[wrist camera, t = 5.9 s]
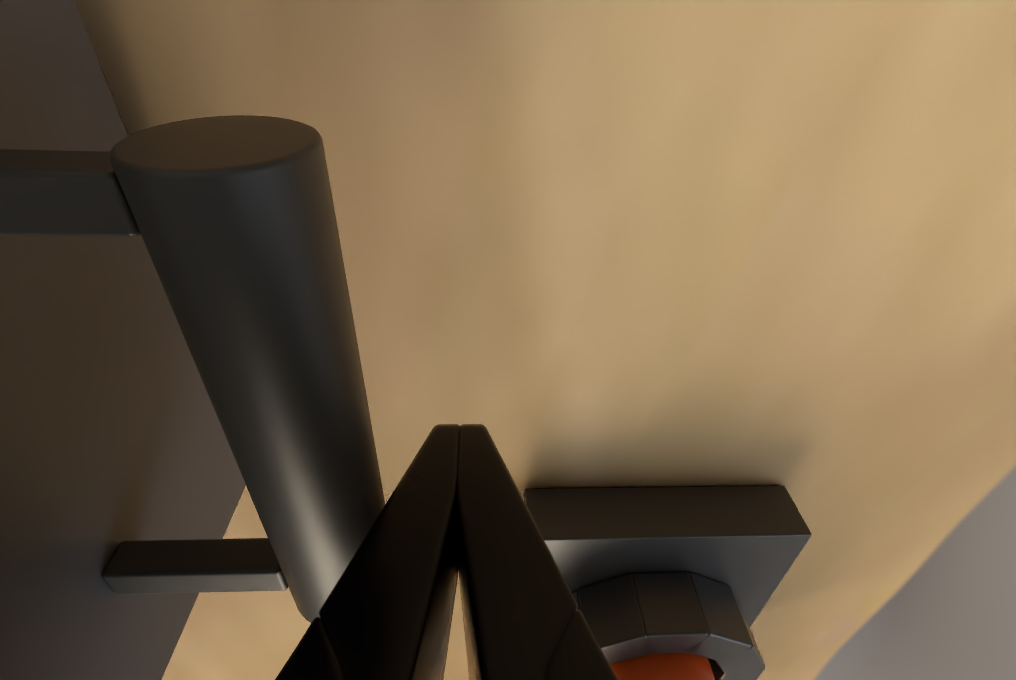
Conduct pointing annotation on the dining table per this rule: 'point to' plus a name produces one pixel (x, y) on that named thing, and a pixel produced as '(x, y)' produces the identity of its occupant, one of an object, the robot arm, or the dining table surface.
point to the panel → (673, 565)
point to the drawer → (162, 365)
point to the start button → (664, 667)
